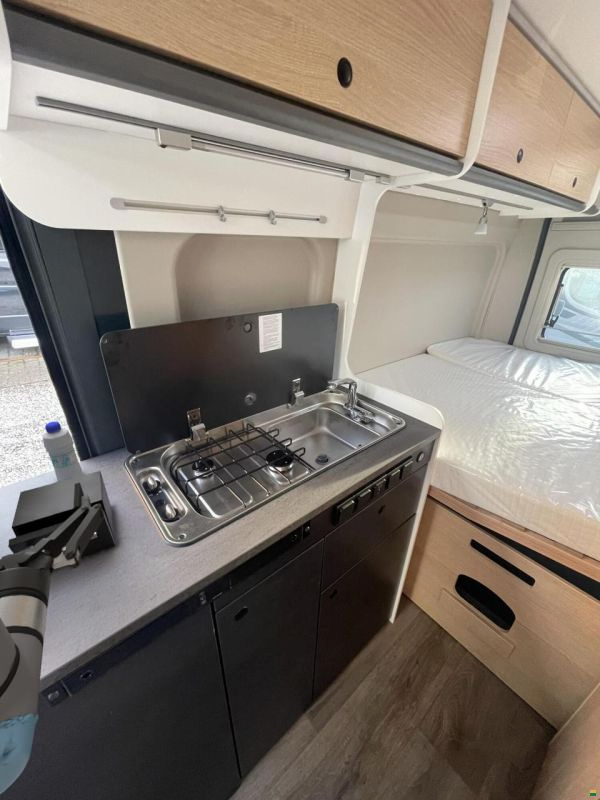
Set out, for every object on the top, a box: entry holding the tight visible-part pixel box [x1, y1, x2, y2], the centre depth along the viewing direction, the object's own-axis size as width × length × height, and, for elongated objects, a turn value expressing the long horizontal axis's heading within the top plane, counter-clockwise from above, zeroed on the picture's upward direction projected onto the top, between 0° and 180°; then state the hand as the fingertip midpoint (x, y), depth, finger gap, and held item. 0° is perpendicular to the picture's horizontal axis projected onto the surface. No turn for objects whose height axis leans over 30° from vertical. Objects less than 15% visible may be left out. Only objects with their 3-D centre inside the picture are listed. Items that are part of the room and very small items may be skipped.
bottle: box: [42, 421, 84, 482], centre depth 94 cm, size 7×7×20 cm
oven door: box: [7, 511, 116, 559], centre depth 69 cm, size 5×16×13 cm, turn 121°
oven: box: [11, 470, 116, 541], centre depth 77 cm, size 12×16×13 cm
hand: (30, 502), depth 54 cm, fingers open, 13 cm apart
